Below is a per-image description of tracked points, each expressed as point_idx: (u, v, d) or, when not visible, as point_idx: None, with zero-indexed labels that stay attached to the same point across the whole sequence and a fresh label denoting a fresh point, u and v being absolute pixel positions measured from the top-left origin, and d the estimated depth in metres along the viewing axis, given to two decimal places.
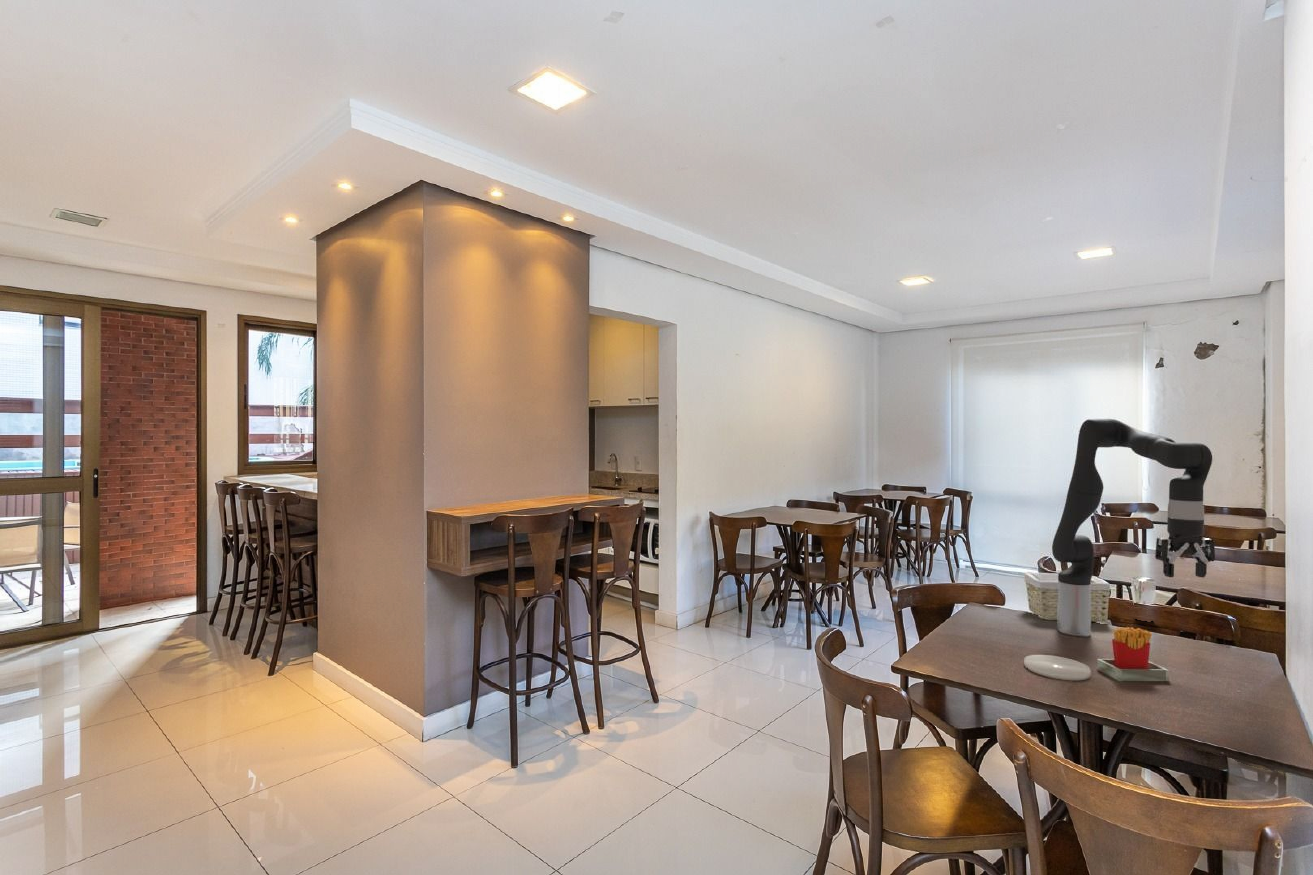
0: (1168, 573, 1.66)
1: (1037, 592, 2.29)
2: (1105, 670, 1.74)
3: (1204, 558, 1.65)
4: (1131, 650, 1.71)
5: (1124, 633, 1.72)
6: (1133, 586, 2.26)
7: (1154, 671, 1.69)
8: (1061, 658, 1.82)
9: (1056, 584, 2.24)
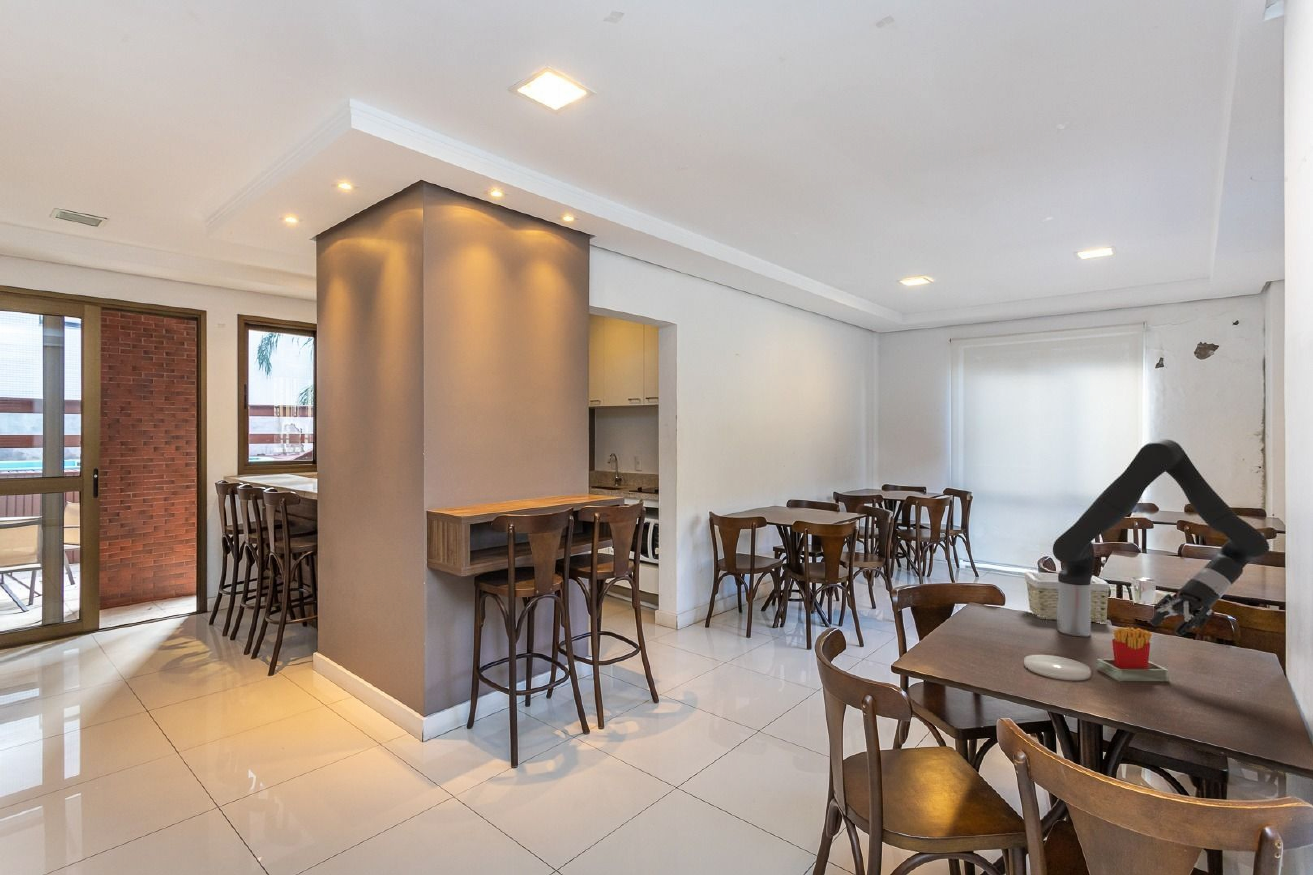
0: None
1: (1035, 591, 2.30)
2: (1105, 670, 1.74)
3: None
4: (1131, 650, 1.71)
5: (1124, 633, 1.72)
6: (1133, 586, 2.26)
7: (1154, 671, 1.69)
8: (1061, 658, 1.82)
9: (1053, 584, 2.25)
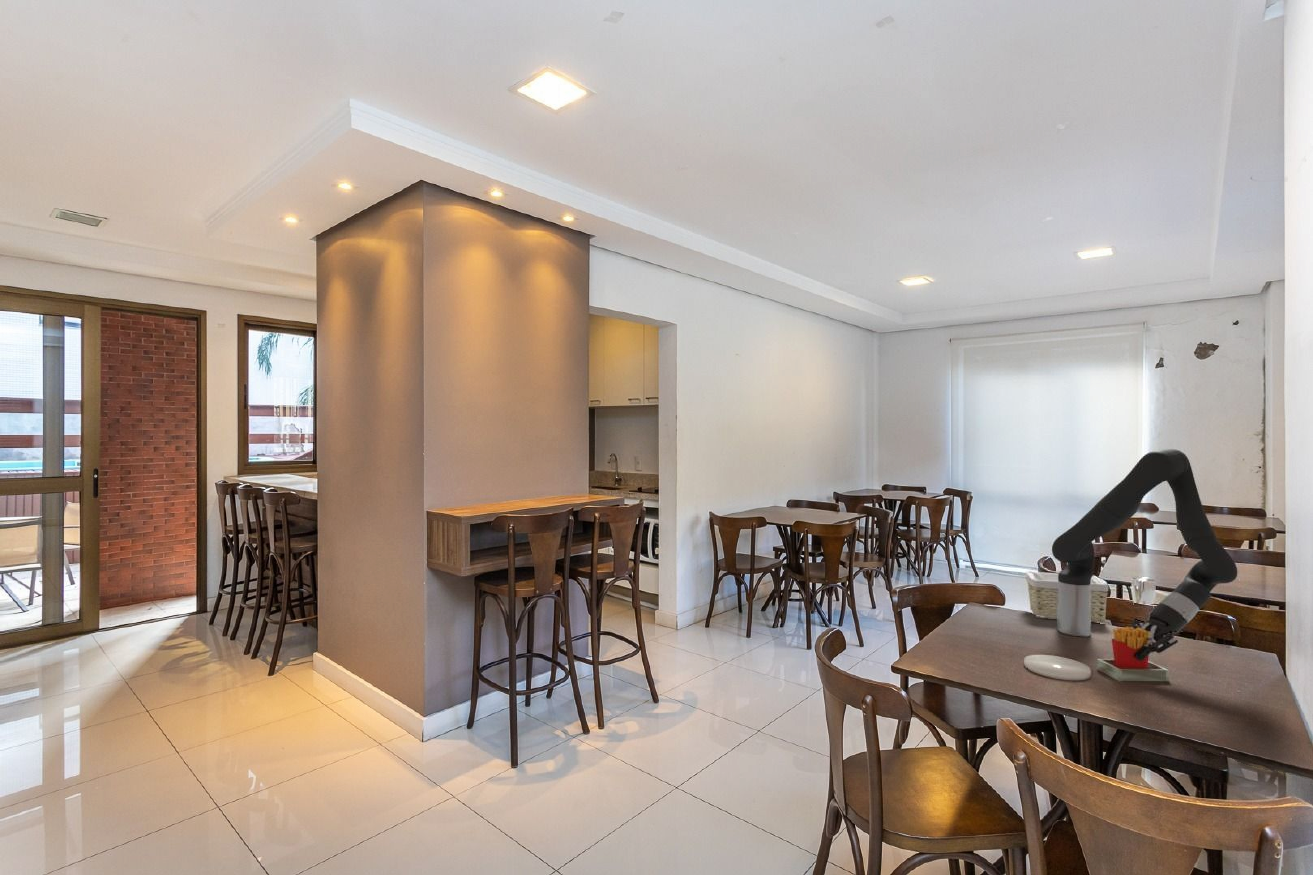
0: None
1: (1033, 591, 2.31)
2: (1105, 670, 1.74)
3: None
4: (1131, 650, 1.71)
5: (1124, 633, 1.72)
6: (1133, 586, 2.26)
7: (1154, 671, 1.69)
8: (1061, 658, 1.82)
9: (1051, 583, 2.26)
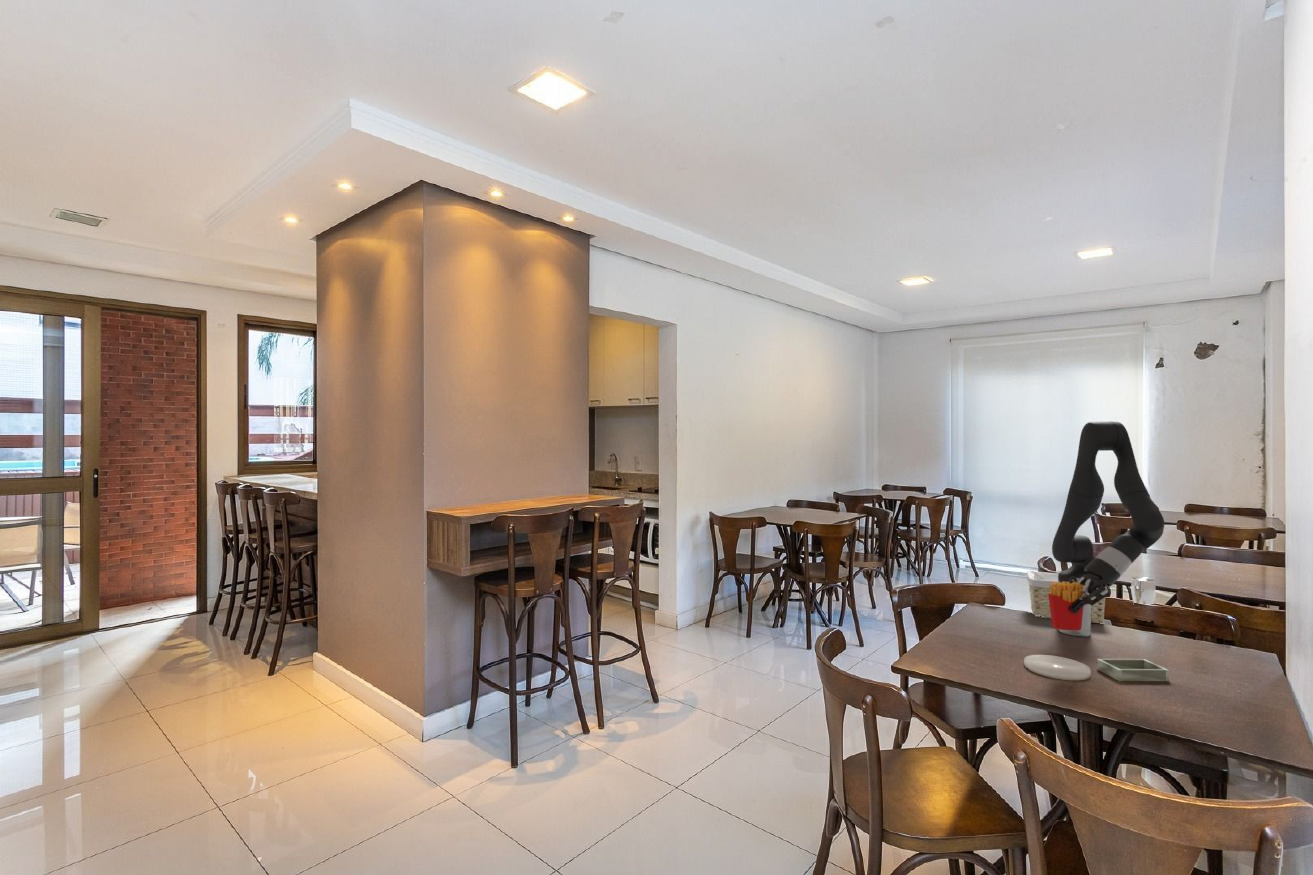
0: None
1: None
2: (1105, 670, 1.74)
3: None
4: (1066, 603, 1.75)
5: (1059, 586, 1.76)
6: (1133, 586, 2.26)
7: (1154, 671, 1.69)
8: (1061, 658, 1.82)
9: (1048, 583, 2.27)
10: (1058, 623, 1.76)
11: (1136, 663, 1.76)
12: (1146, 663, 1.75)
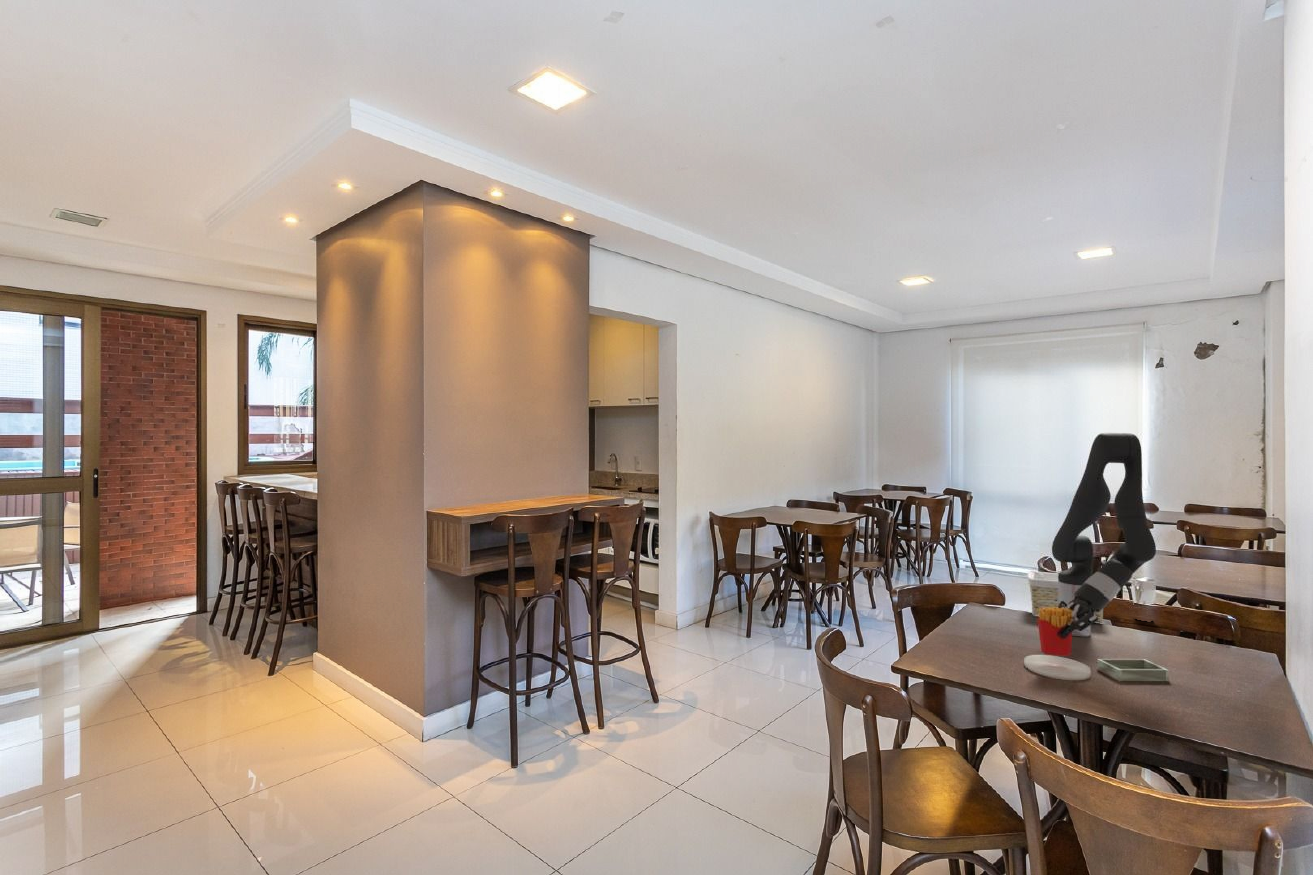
0: None
1: None
2: (1105, 670, 1.74)
3: None
4: (1054, 628, 1.76)
5: (1048, 612, 1.77)
6: (1133, 586, 2.26)
7: (1154, 671, 1.69)
8: (1061, 658, 1.82)
9: (1047, 582, 2.27)
10: (1047, 648, 1.76)
11: (1136, 663, 1.76)
12: (1146, 663, 1.75)
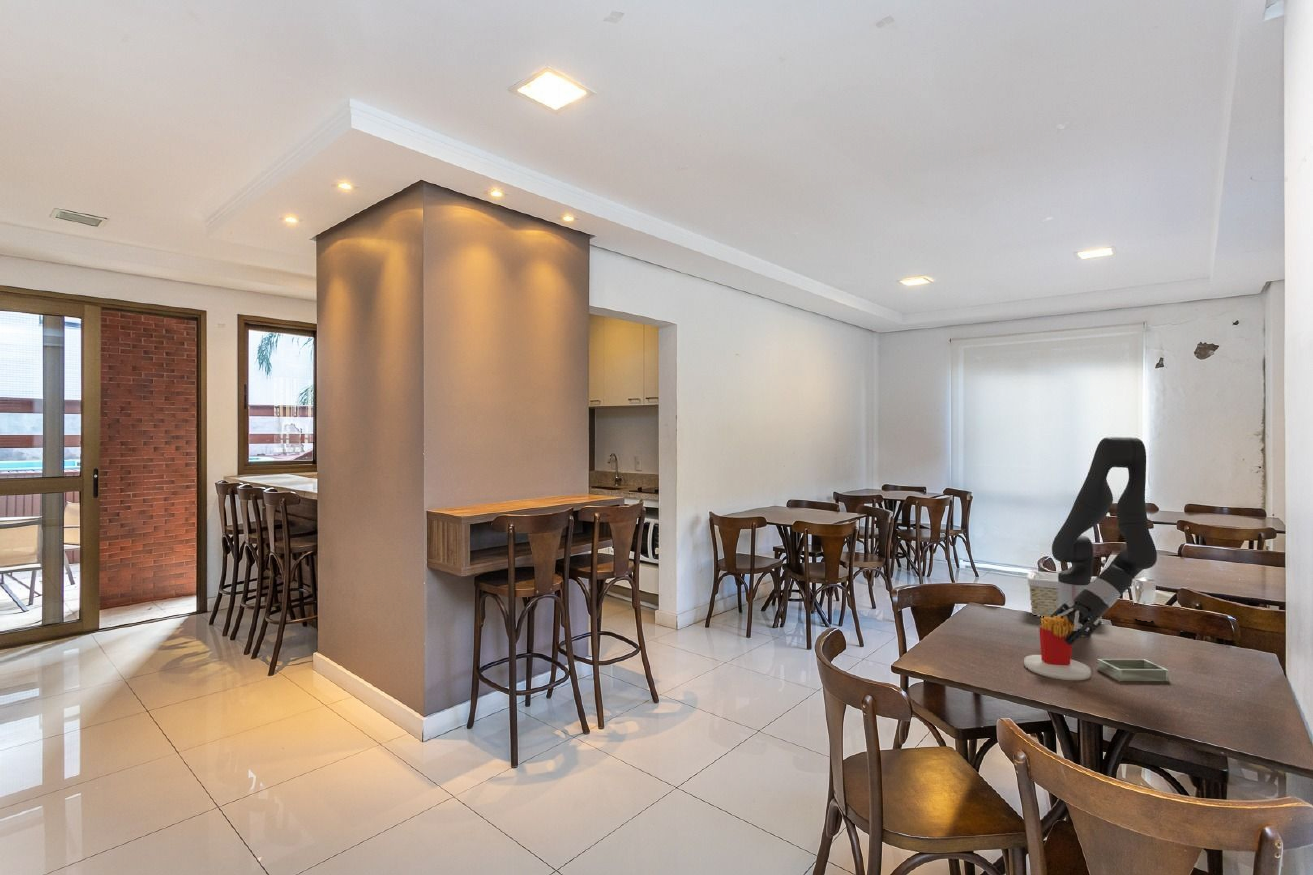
0: None
1: None
2: (1105, 670, 1.74)
3: None
4: (1056, 638, 1.77)
5: (1050, 621, 1.78)
6: (1133, 586, 2.26)
7: (1154, 671, 1.69)
8: None
9: (1045, 582, 2.28)
10: (1047, 657, 1.78)
11: (1136, 663, 1.76)
12: (1146, 663, 1.75)
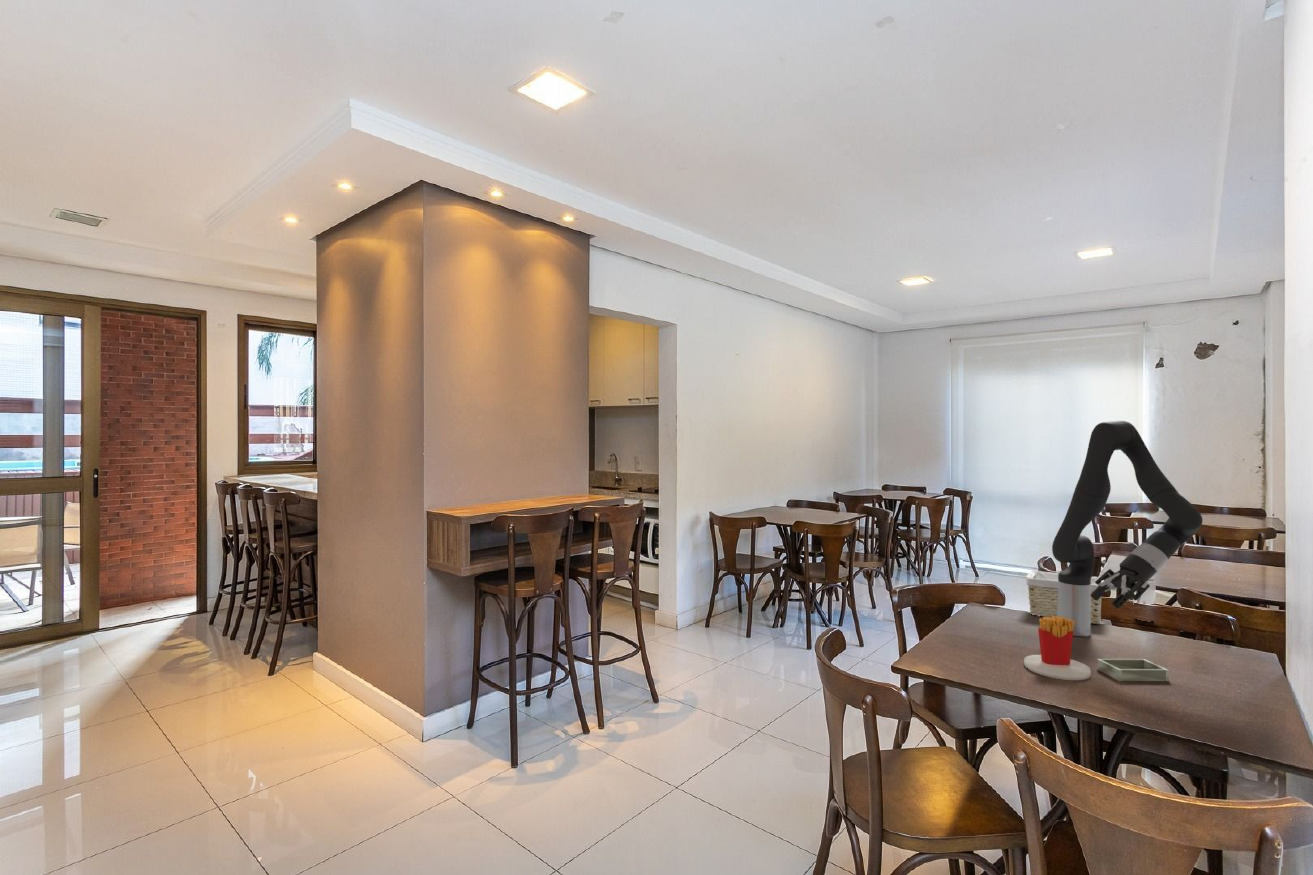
0: None
1: None
2: (1105, 670, 1.74)
3: None
4: (1055, 638, 1.77)
5: (1049, 622, 1.78)
6: None
7: (1154, 671, 1.69)
8: None
9: (1043, 582, 2.28)
10: (1047, 658, 1.78)
11: (1136, 663, 1.76)
12: (1146, 663, 1.75)
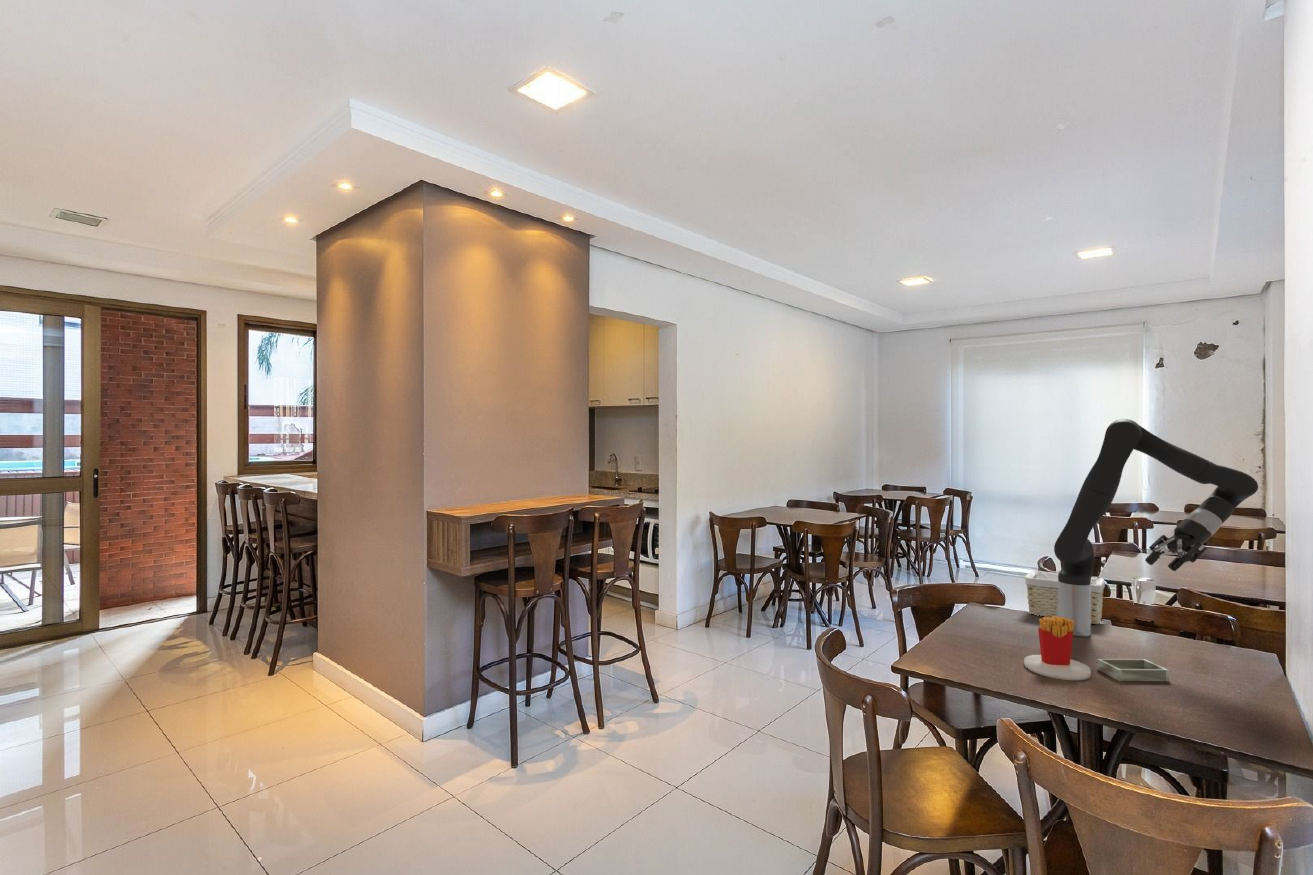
0: None
1: None
2: (1105, 670, 1.74)
3: None
4: (1055, 638, 1.77)
5: (1049, 622, 1.78)
6: (1133, 586, 2.26)
7: (1154, 671, 1.69)
8: None
9: (1042, 581, 2.29)
10: (1047, 658, 1.78)
11: (1136, 663, 1.76)
12: (1146, 663, 1.75)
